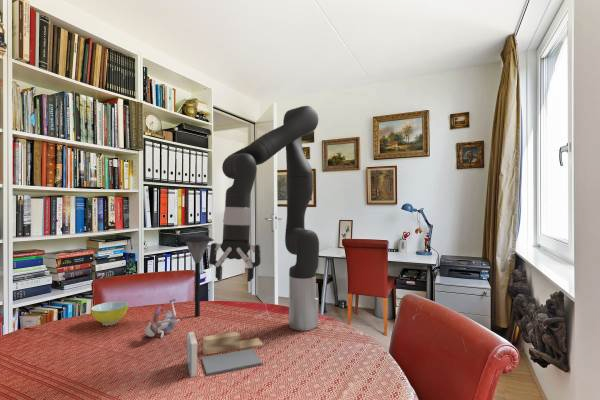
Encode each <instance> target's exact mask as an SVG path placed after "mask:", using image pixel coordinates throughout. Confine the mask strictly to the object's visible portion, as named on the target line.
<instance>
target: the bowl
mask: <svg viewBox="0 0 600 400" xmlns="http://www.w3.org/2000/svg"><path fill="white" fill-rule="evenodd" d="M128 308H129V303H128V302H127V301H109V302H103V303H100V304H96V305H93V306H92V307H91V308H90V310H91V315H92V318H93V319H94V320H96V321H97V322H99V323H101V325H102V326H104V325H105V326H106V327H108V325H110V326H114V325H116V324H117V323H118V321H119V320H121V319H122V318H123V317H124V316H125V314H126V313H127V311H128V310H129V309H128ZM115 323H116V324H115ZM113 324H114V325H113Z"/></svg>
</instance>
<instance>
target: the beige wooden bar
mask: <svg viewBox="0 0 600 400" xmlns="http://www.w3.org/2000/svg"><path fill="white" fill-rule="evenodd" d="M263 346H264V342H262V341H261V339H260V338H259V337H255V338H250V339H244V340H241V335H240V333H239V331H233V332H232V331H231V332H224V333H219V334H213V335H212V334H211V335H205V336H202V352H203V356H205V355H207V356H208V355H212V354H216V353H217V354H218V353H222V352H223V353H225V352H228V351H233V350H239V351H243V350H248V349H254V348H260V347H263Z"/></svg>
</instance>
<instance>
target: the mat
mask: <svg viewBox="0 0 600 400" xmlns="http://www.w3.org/2000/svg"><path fill="white" fill-rule="evenodd" d="M201 362H202V364H203V368H204V370H205V371H204V372H205V373H206V376H208V377H209V376H212V375H217V374H218V375H219V374H224V373H227V372H233V371H237V370H241V369H242V370H243V369H247V368H253V367H258V366H262V365H263V362H262V361H261V359H260V358H259V356H258V355H257V353H256V352H255V349H254V348H249V349H244V350H238V351H233V352H227V353H221V354H217V355H215V354H214V355H209V356H204V357H201Z"/></svg>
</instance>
